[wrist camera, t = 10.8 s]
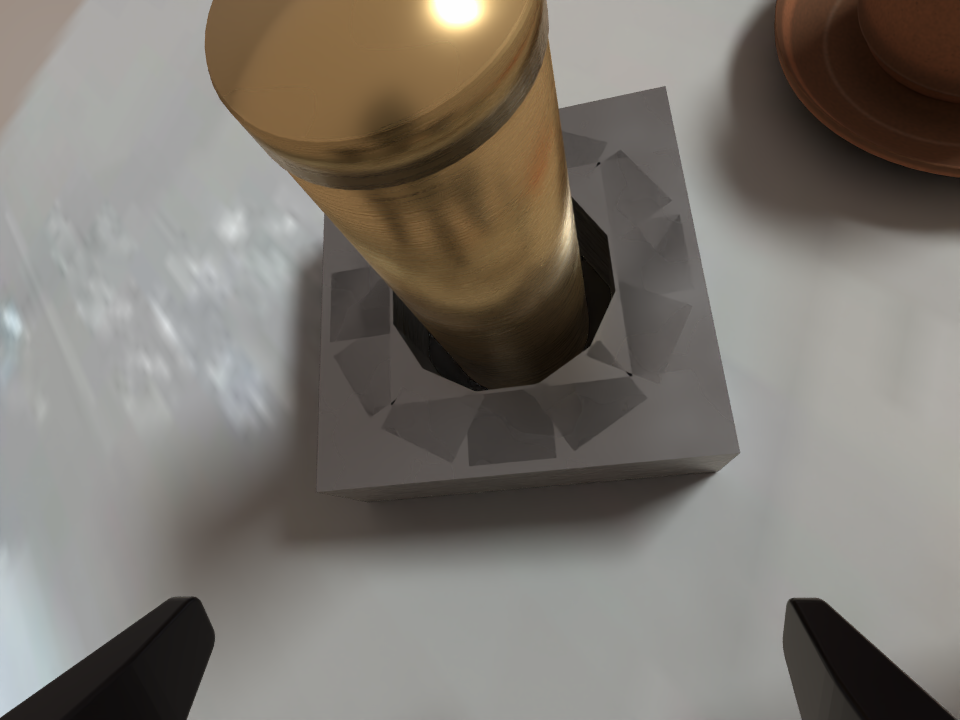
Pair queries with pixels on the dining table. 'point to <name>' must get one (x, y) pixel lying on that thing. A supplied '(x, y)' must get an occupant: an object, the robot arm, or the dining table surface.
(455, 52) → the gold metallic cylinder
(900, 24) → the cup and saucer
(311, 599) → the dining table surface
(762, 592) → the dining table surface
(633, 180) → the block
